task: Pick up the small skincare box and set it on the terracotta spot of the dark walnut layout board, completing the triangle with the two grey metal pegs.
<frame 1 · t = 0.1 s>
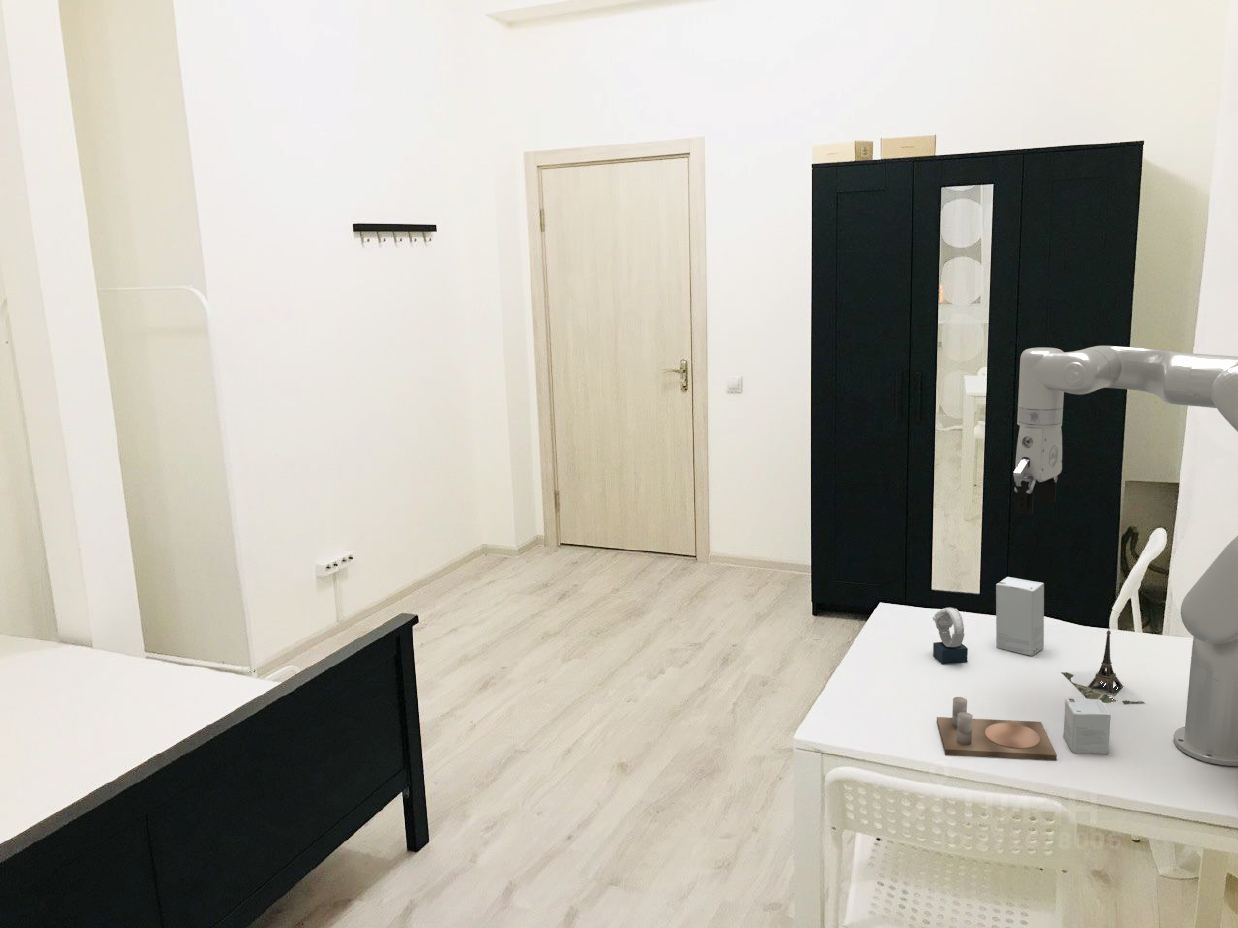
hand: (1035, 507, 186), 37 cm above the table, tool pointing down, fingers open, 9 cm apart
skincare box: (1085, 746, 174), on the table
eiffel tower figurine: (1101, 690, 196), on the table
skincare box 2: (1018, 649, 215), on the table
watch: (949, 659, 211), on the table
layout board: (994, 740, 177), on the table
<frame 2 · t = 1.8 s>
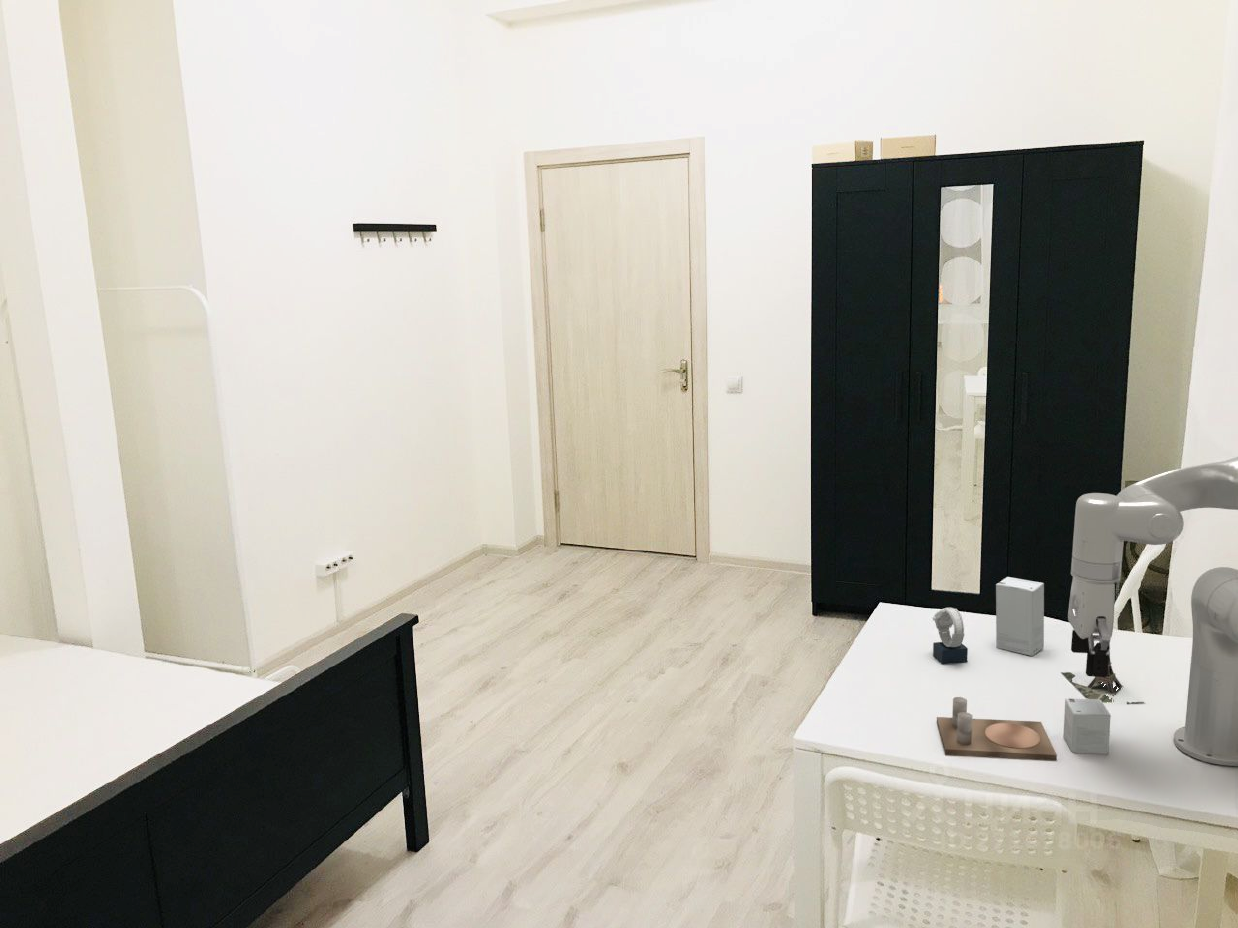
hand: (1088, 663, 171), 15 cm above the table, tool pointing down, fingers open, 9 cm apart
nothing on the table moved.
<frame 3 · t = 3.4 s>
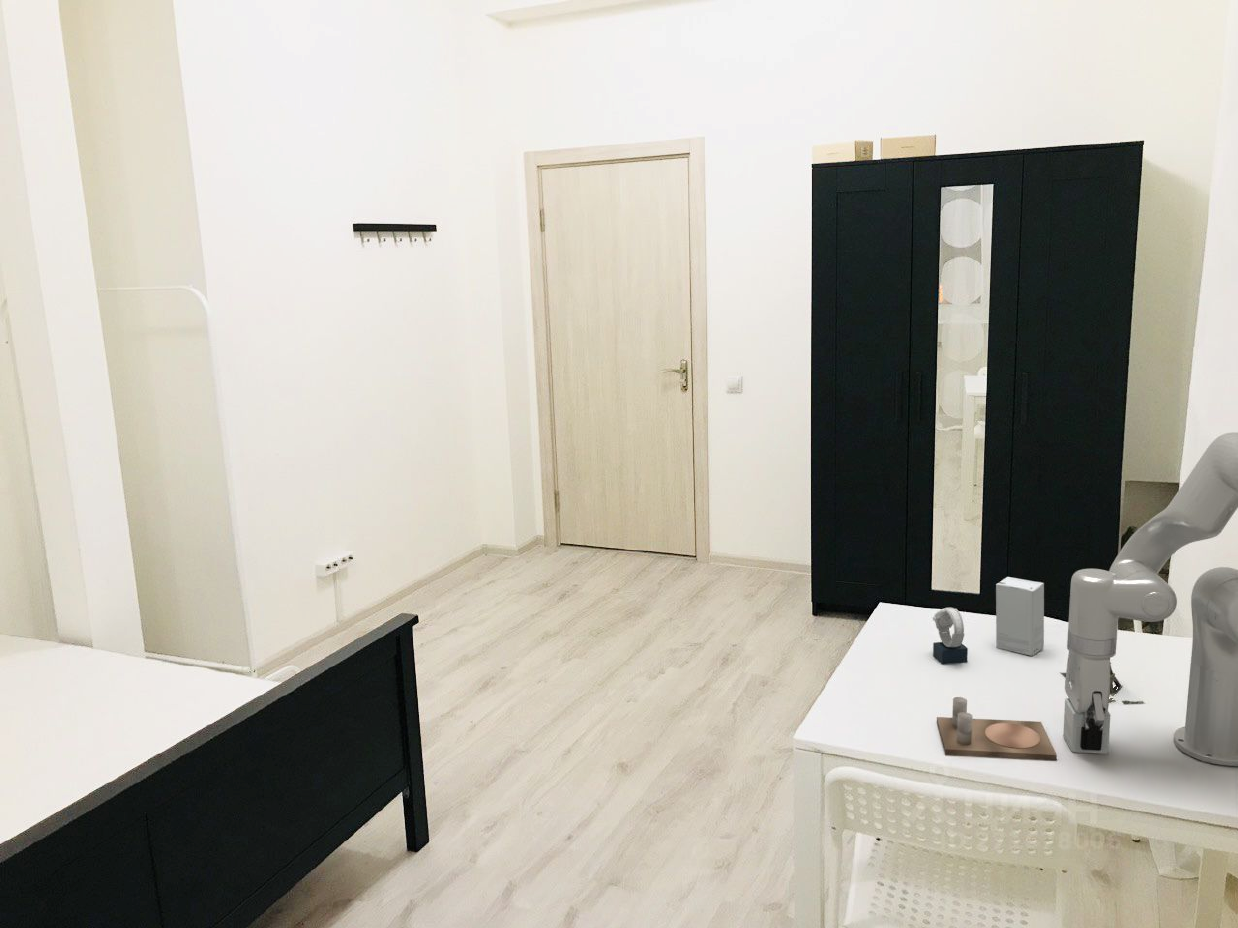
hand: (1085, 738, 174), 1 cm above the table, tool pointing down, fingers closed on skincare box, 6 cm apart
skincare box: (1084, 745, 174), on the table, touching gripper
everything else where it was.
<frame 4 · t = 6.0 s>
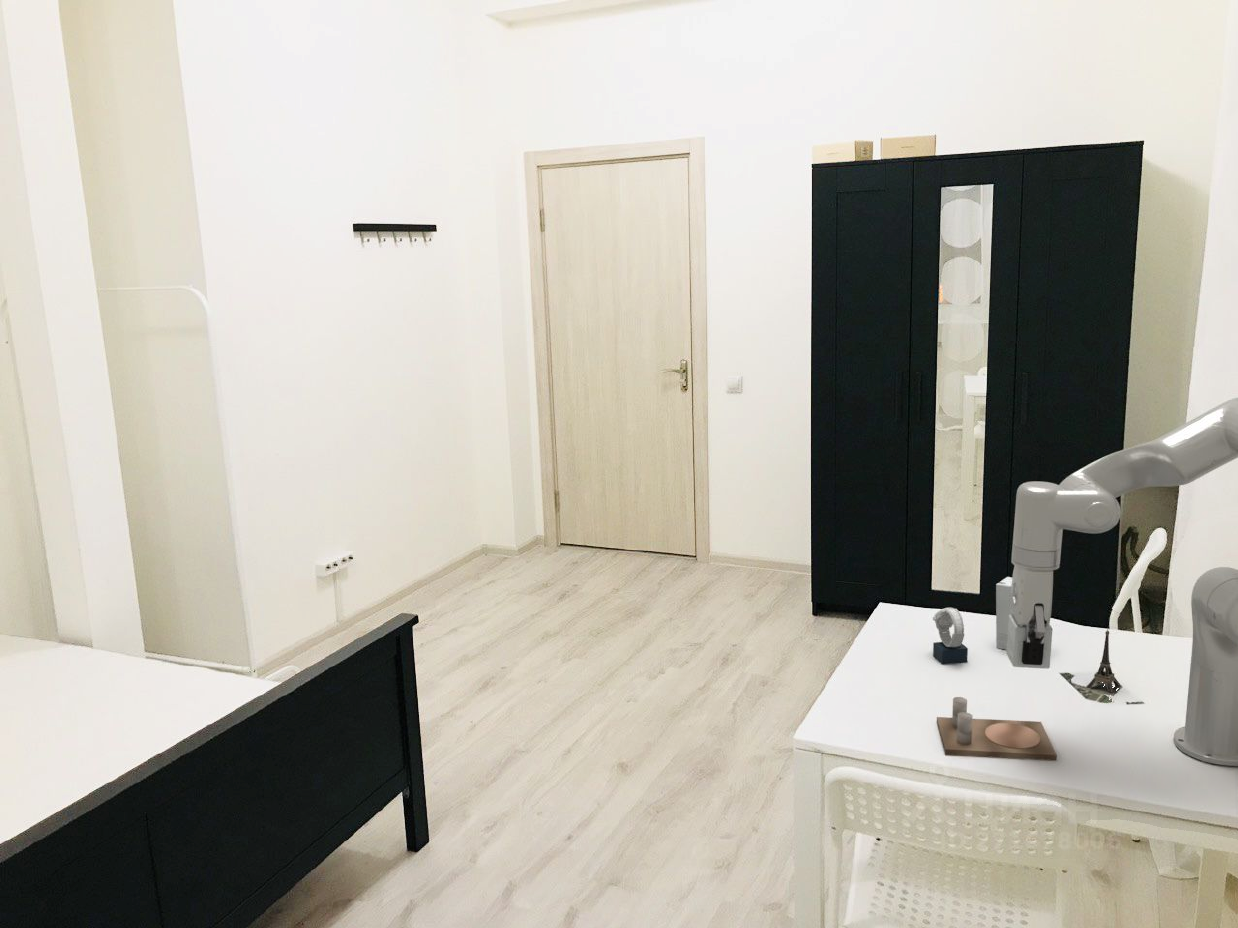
hand: (1027, 654, 172), 16 cm above the table, tool pointing down, fingers closed on skincare box, 6 cm apart
skincare box: (1027, 662, 173), point 15 cm above the table, touching gripper
everything else where it was.
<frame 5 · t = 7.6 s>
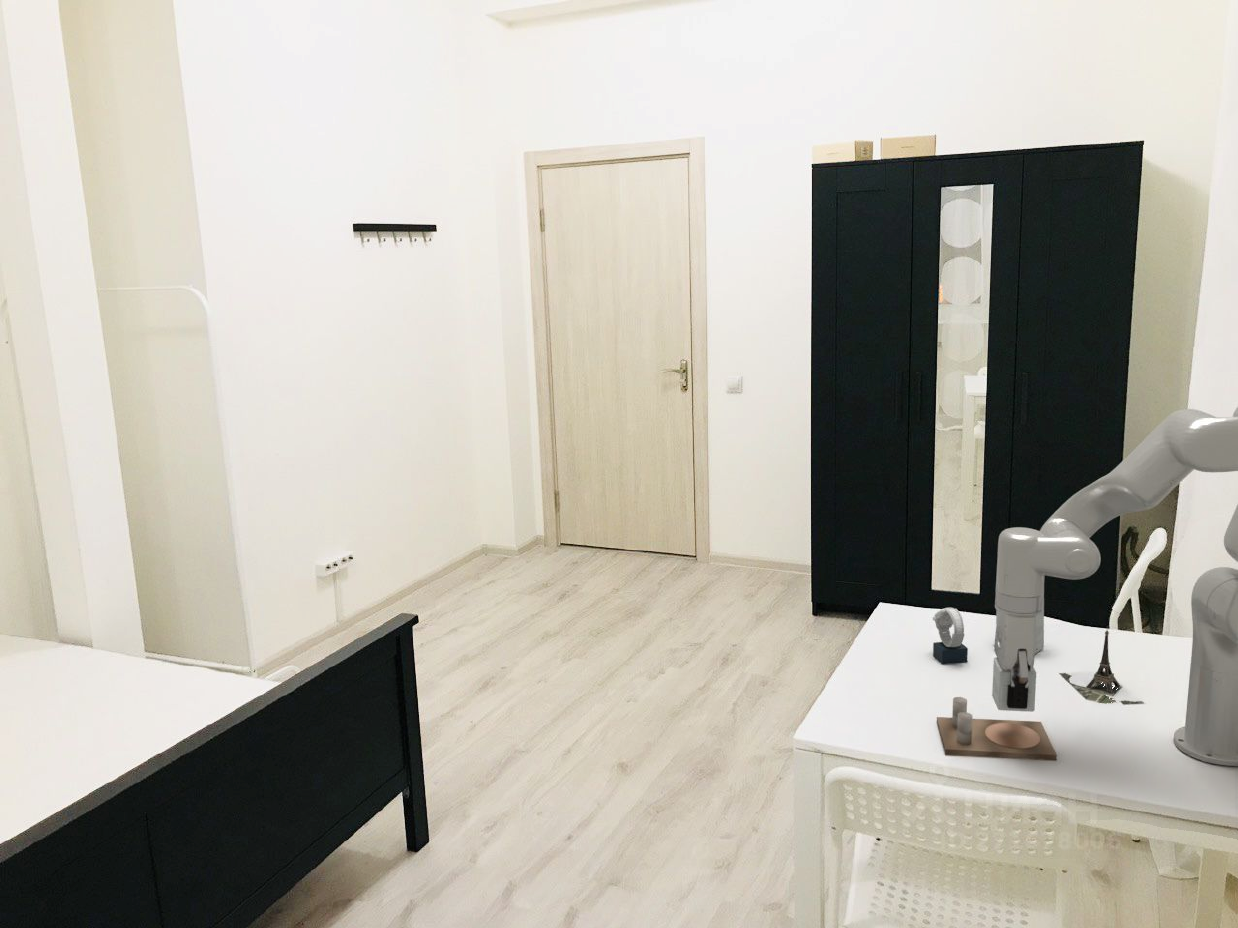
hand: (1012, 697, 174), 8 cm above the table, tool pointing down, fingers closed on skincare box, 6 cm apart
skincare box: (1012, 704, 175), point 7 cm above the table, touching gripper
everything else where it was.
when the fingers open (4 cm above the table, at t = 8.9 s): skincare box drops 1 cm, resting on layout board.
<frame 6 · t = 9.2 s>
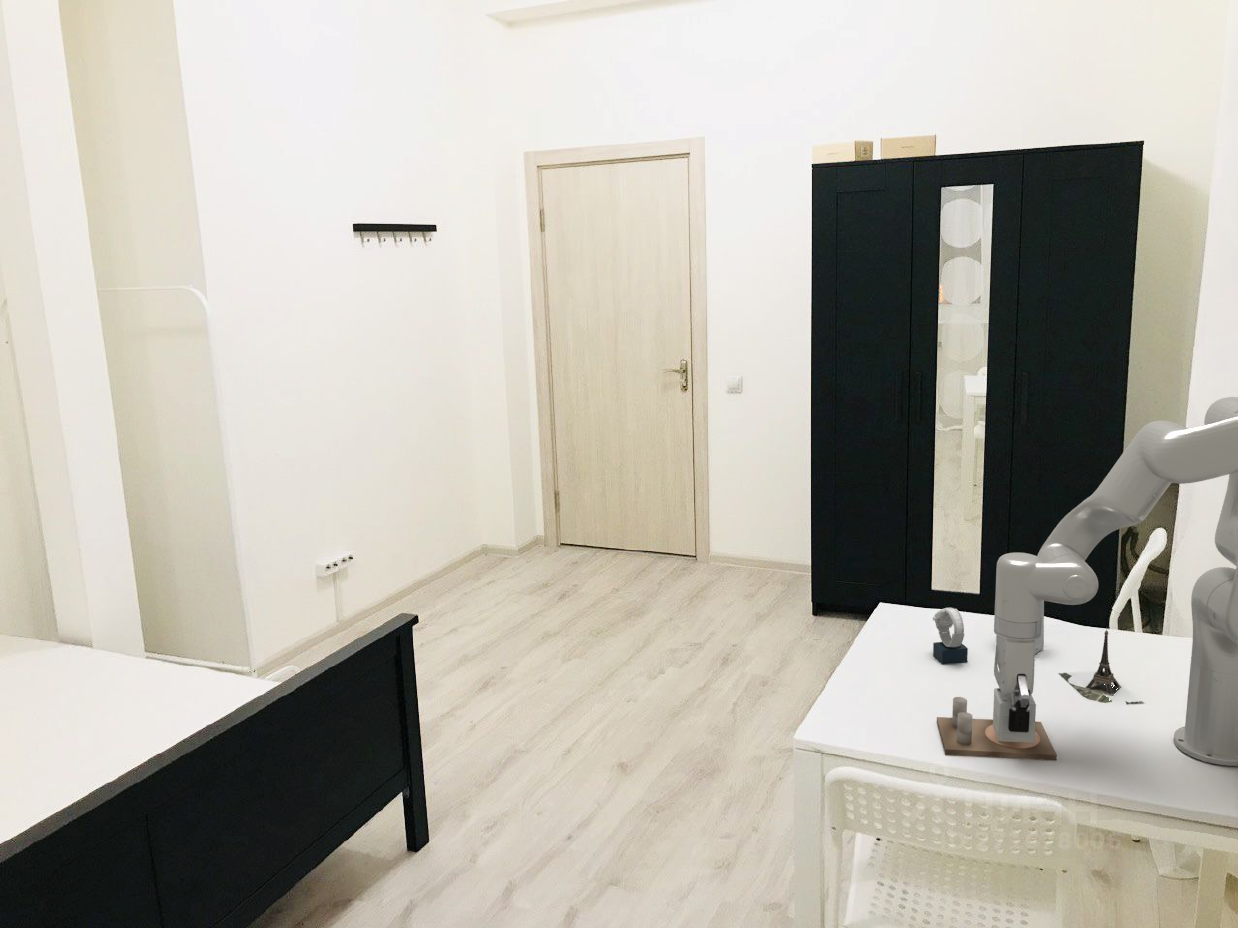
hand: (1013, 718, 175), 4 cm above the table, tool pointing down, fingers open, 8 cm apart
skincare box: (1012, 735, 176), point 1 cm above the table, touching layout board
everything else where it was.
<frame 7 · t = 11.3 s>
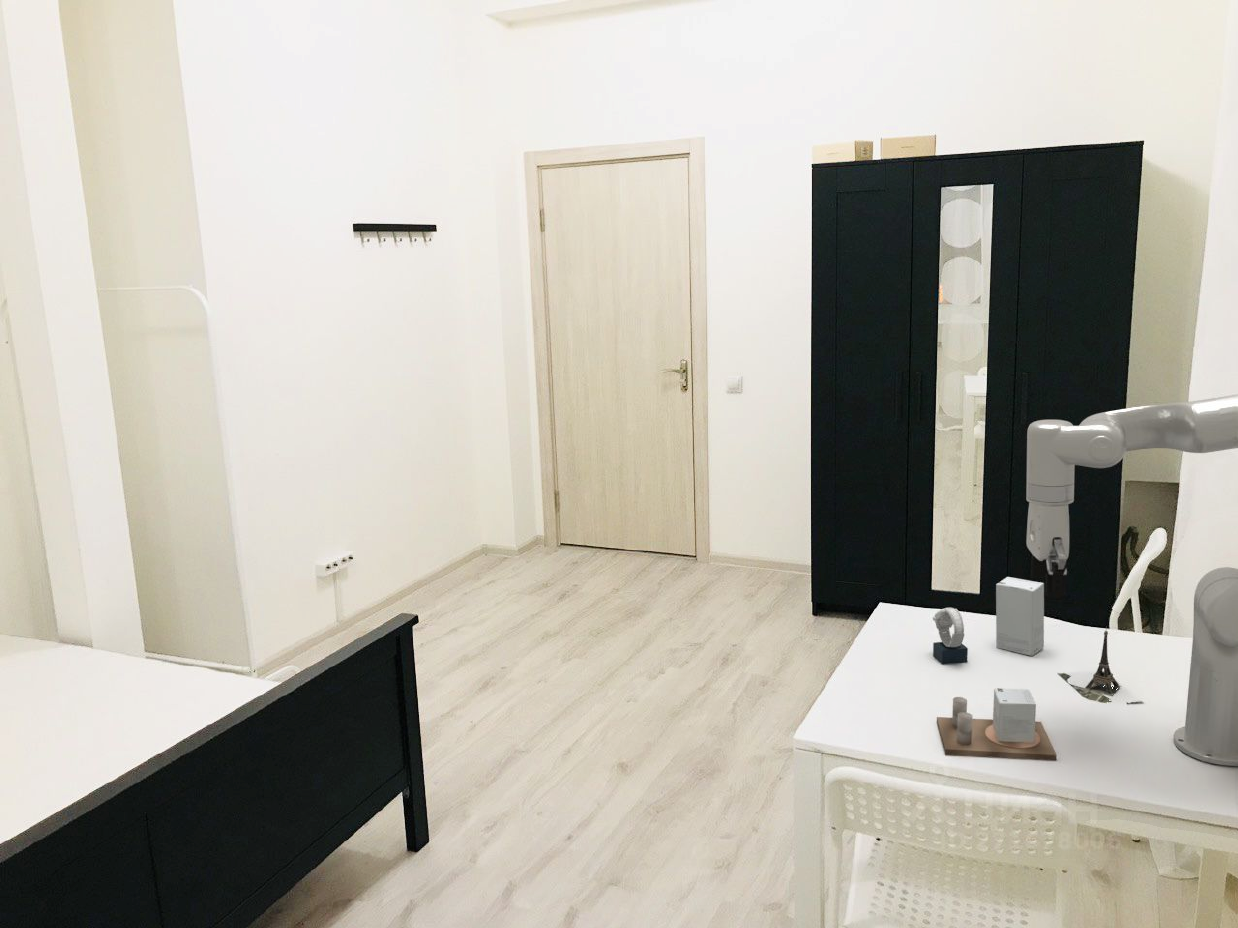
hand: (1048, 586, 176), 26 cm above the table, tool pointing down, fingers open, 9 cm apart
nothing on the table moved.
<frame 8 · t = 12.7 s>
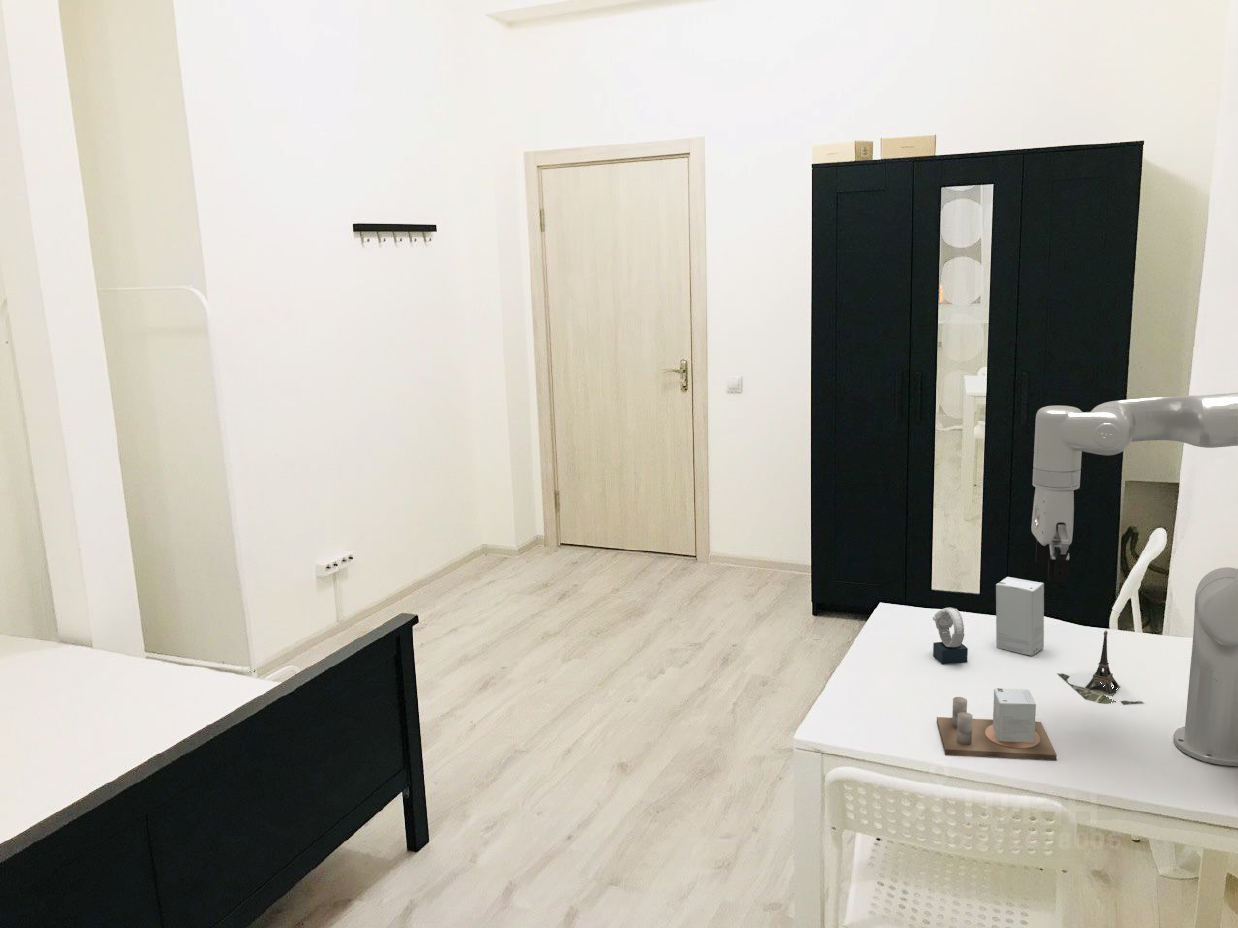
hand: (1051, 571, 177), 28 cm above the table, tool pointing down, fingers open, 9 cm apart
nothing on the table moved.
at the end: skincare box 0.2 cm from the target spot on the layout board, point 1.0 cm above the layout board's base; skincare box tilted 0°; the gripper is holding nothing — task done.
